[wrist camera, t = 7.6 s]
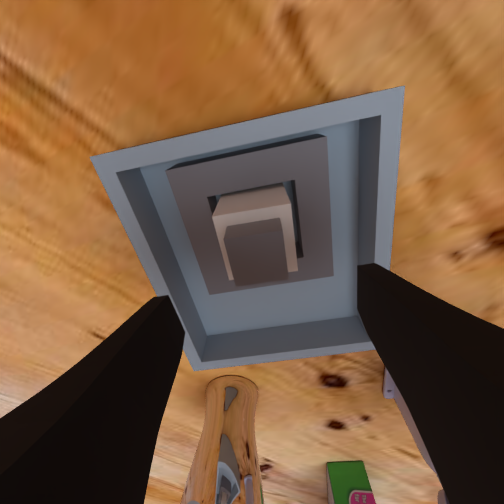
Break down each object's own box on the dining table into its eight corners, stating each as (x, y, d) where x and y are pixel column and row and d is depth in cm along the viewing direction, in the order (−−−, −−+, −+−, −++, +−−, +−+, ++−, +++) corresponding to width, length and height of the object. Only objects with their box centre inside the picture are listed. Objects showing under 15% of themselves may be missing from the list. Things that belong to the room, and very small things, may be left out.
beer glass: (243, 414, 31) (235, 632, 18) (193, 397, 29) (142, 623, 16) (273, 385, 28) (288, 621, 15) (218, 364, 26) (182, 609, 13)
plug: (286, 229, 18) (302, 287, 12) (236, 237, 18) (226, 297, 12) (280, 177, 16) (295, 214, 10) (224, 187, 17) (206, 229, 11)
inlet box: (366, 317, 23) (383, 348, 20) (201, 339, 25) (193, 371, 22) (373, 92, 14) (405, 85, 11) (121, 149, 16) (89, 157, 13)
